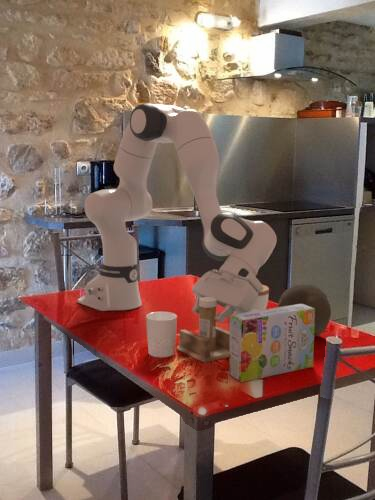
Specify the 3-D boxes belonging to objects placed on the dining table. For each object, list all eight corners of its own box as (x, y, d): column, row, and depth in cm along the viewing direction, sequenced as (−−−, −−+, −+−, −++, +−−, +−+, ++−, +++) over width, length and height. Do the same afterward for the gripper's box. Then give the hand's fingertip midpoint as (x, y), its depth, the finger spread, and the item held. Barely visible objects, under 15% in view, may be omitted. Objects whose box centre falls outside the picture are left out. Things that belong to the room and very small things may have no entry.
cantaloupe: (310, 326, 173) (313, 277, 170) (339, 341, 160) (342, 288, 157) (269, 331, 168) (271, 281, 165) (295, 347, 155) (297, 293, 152)
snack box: (299, 360, 146) (301, 302, 143) (313, 367, 141) (316, 308, 138) (227, 375, 136) (229, 313, 133) (240, 383, 131) (242, 319, 128)
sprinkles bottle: (219, 349, 150) (220, 299, 148) (205, 352, 148) (205, 301, 146) (209, 344, 154) (210, 295, 152) (195, 347, 152) (195, 297, 149)
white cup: (149, 359, 145) (149, 321, 143) (143, 349, 152) (143, 312, 151) (180, 357, 147) (180, 319, 145) (172, 346, 154) (172, 310, 153)
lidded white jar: (250, 307, 193) (251, 275, 191) (276, 317, 183) (277, 282, 181) (220, 313, 186) (221, 280, 184) (245, 323, 176) (246, 288, 174)
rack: (176, 349, 153) (177, 330, 152) (209, 341, 159) (209, 322, 158) (204, 362, 143) (205, 342, 142) (238, 353, 150) (238, 334, 149)
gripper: (205, 261, 160) (175, 300, 156) (256, 274, 144) (224, 319, 140) (217, 274, 163) (189, 314, 159) (268, 289, 147) (238, 333, 143)
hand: (206, 316), depth 149 cm, fingers open, 8 cm apart
